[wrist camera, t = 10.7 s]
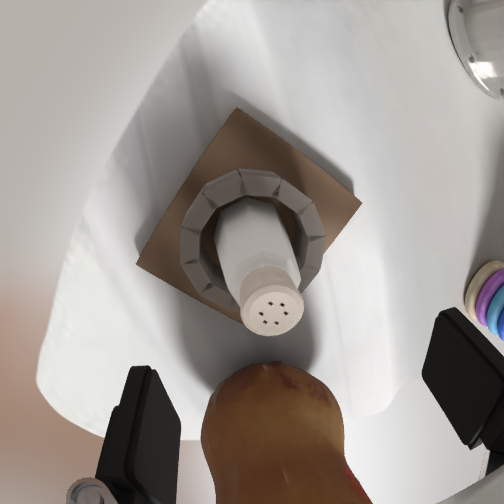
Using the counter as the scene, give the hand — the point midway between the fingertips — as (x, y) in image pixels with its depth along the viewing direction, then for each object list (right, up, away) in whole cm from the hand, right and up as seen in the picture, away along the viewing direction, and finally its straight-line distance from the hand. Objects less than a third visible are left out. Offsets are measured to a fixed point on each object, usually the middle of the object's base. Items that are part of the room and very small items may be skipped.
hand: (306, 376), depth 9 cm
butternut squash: (-1, -10, +22) cm, 25 cm away
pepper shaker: (-2, +6, +14) cm, 15 cm away
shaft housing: (-2, +6, +16) cm, 17 cm away
